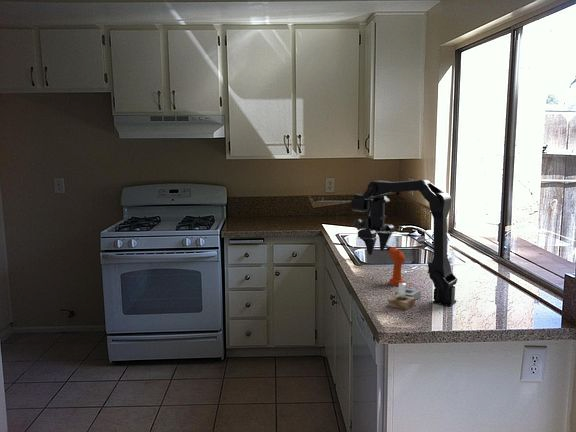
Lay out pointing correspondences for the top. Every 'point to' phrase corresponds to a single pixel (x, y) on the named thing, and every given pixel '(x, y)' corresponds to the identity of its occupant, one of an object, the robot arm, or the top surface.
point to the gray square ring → (411, 293)
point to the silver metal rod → (402, 291)
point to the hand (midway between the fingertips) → (376, 252)
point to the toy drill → (396, 265)
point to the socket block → (401, 302)
